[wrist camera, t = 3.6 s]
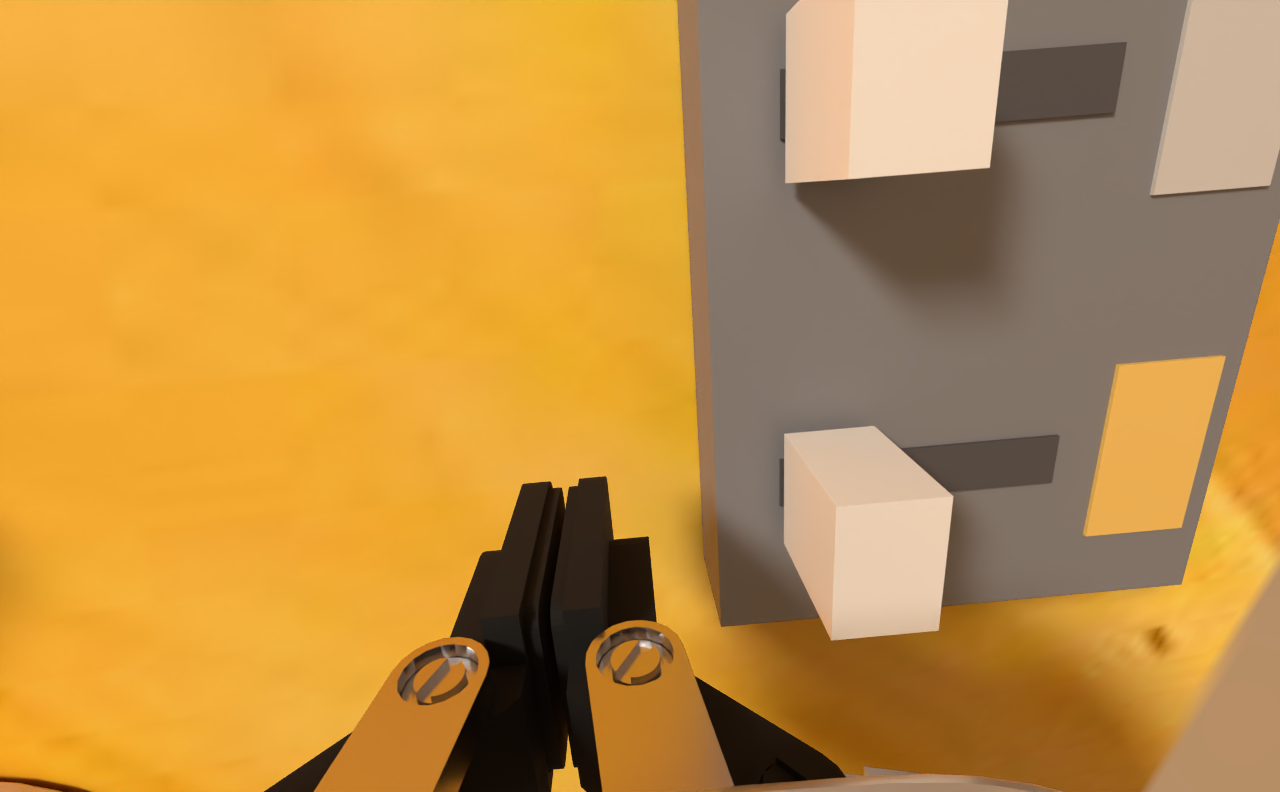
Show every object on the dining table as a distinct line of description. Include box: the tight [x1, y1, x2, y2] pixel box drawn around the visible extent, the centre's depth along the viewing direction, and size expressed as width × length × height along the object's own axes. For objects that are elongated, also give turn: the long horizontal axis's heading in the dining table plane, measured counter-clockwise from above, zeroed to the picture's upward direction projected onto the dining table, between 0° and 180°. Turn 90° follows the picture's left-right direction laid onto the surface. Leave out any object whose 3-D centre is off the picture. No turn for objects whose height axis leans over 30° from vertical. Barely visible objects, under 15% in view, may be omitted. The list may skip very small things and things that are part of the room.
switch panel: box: [677, 0, 1280, 627], centre depth 13 cm, size 24×12×3 cm, turn 4°
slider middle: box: [785, 0, 1008, 183], centre depth 9 cm, size 3×2×3 cm
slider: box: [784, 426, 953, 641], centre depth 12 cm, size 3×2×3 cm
